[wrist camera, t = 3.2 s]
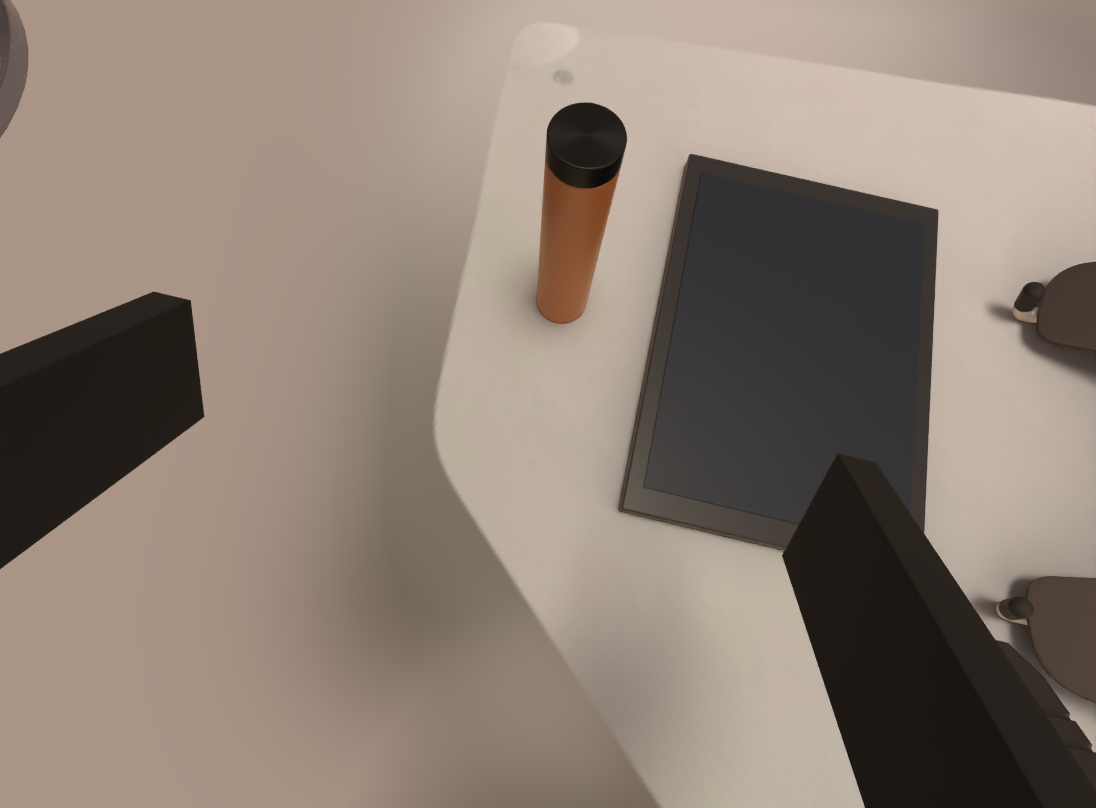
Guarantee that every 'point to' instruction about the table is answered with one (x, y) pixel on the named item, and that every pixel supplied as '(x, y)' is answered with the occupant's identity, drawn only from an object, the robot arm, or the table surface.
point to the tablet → (782, 352)
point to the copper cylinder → (576, 204)
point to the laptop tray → (1055, 602)
